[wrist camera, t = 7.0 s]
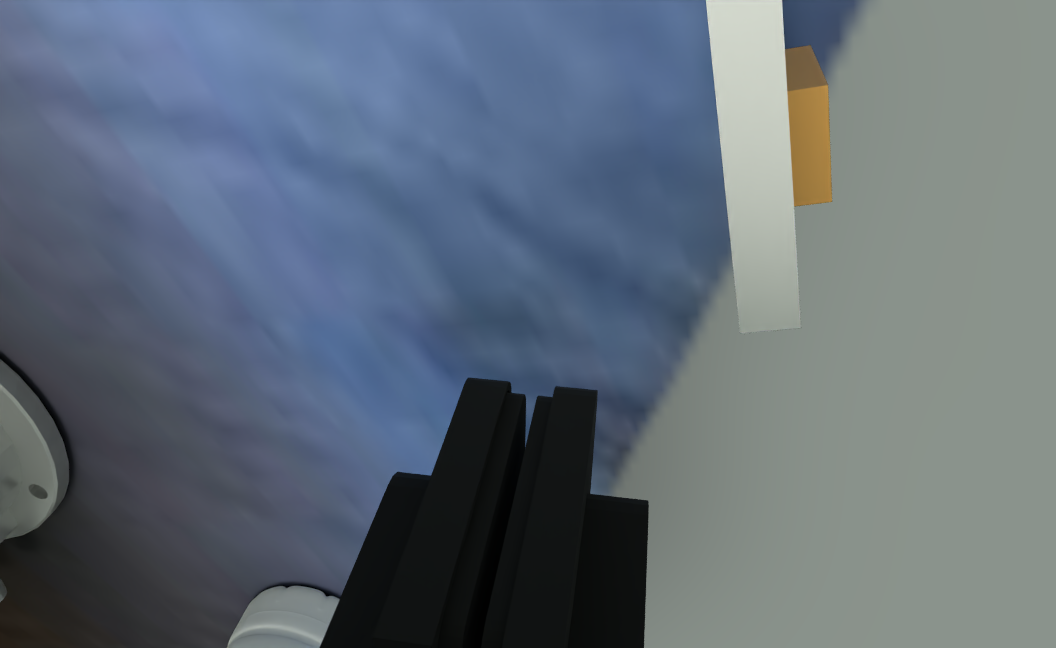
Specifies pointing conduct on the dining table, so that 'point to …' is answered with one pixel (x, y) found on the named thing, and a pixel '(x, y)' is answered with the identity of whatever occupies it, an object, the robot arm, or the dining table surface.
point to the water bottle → (285, 619)
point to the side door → (767, 152)
